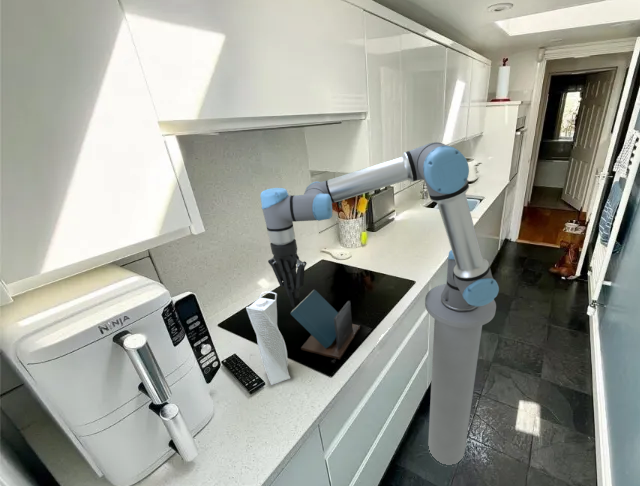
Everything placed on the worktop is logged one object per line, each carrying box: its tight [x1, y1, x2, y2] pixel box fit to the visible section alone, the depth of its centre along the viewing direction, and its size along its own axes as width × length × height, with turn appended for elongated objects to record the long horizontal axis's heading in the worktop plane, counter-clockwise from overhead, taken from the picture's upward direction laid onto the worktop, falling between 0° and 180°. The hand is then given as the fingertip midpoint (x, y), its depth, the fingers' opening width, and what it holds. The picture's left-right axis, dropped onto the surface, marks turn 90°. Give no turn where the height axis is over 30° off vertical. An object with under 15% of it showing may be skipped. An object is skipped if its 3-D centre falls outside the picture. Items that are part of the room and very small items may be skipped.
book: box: [290, 289, 339, 348], centre depth 102 cm, size 3×12×16 cm
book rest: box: [300, 300, 361, 360], centre depth 101 cm, size 14×16×13 cm
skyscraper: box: [245, 290, 291, 386], centre depth 84 cm, size 8×8×28 cm
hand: (295, 304), depth 103 cm, fingers closed
